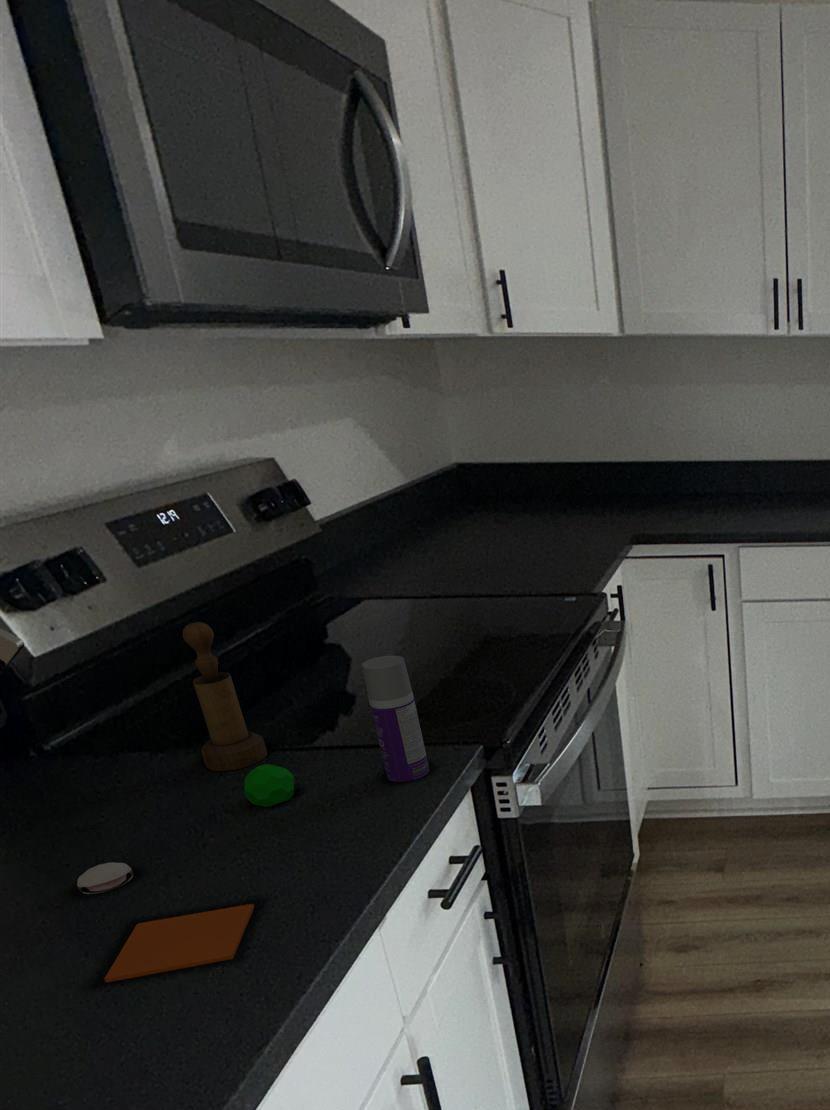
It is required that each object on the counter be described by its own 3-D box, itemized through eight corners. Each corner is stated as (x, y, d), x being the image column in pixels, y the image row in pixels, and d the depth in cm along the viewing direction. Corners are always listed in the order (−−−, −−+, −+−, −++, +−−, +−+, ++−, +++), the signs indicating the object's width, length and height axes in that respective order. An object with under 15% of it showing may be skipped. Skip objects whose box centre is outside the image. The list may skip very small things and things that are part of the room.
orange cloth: (98, 992, 76) (94, 982, 76) (135, 930, 84) (131, 921, 84) (237, 966, 80) (233, 956, 79) (260, 909, 87) (257, 899, 87)
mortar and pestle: (221, 776, 113) (176, 635, 105) (196, 763, 116) (150, 626, 108) (277, 756, 118) (237, 620, 110) (251, 744, 121) (211, 612, 113)
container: (379, 783, 111) (350, 665, 105) (409, 767, 115) (383, 653, 109) (409, 789, 109) (381, 671, 103) (439, 773, 113) (414, 657, 107)
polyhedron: (300, 808, 105) (289, 770, 103) (250, 819, 103) (237, 781, 101) (299, 790, 109) (288, 754, 107) (250, 800, 107) (238, 763, 105)
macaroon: (85, 905, 88) (76, 883, 87) (76, 885, 91) (67, 863, 90) (140, 887, 91) (131, 865, 90) (129, 868, 94) (120, 847, 93)
